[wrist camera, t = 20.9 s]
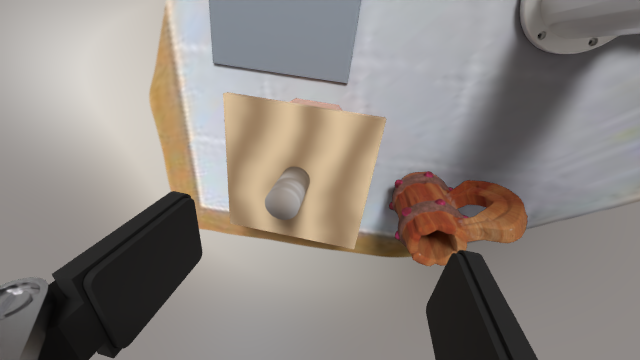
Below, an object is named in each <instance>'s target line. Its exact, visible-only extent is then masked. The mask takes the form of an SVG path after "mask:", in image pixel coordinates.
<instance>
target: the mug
mask: <svg viewBox="0 0 640 360" xmlns="http://www.w3.org/2000/svg"><path fill="white" fill-rule="evenodd" d="M465 205H479V206H483V207H486V209H485V210H484V211H481V212H480V213H479V214H477V215H476V216H474V217H470V218H469V217H468V216H465V215H462V214H461V213H460V212H459V211H458V210H457V209H458V208H461V207H463V206H465ZM389 208H390V209H392V210H395V212H396V213H397V214H398V217H399V223H398V231H397V232H396V233H395V238H396V239H398V240H401V242H402V243H403V244H404V245H405V246H406V247H407V249H408V251H409V253H411V255H412V258H413V260H415V261H416V262H418V263H420V264H423V265H426V266H431V265H433V264H438V265H446V264H447V262H448V260H449V258H450V256H451V254H452V253H457V252H458V251H459V250H465V251H466V248H467V242H471V241H477V240H487V241H494V242H500V243H511V242H514V241H516V240H518V239H520V238H521V237H522V235H523V233H524V232H525V229H526V225H527V217H528V216H527V215H526V212H525V208H524V203H523V202H522V200H521V199H520V198H519V197H518V196H517V195H516V194H514V193H513V192H512V191H510V190H509V189H507V188H505V187H502V186H500V185H498V184H495V183H490V182H485V181H470V180H467V181H464V182H463V183H461V184H460V185H459V186H457V187H456V188H454V189H453V188H451V187H448V186H447V185H446V184H445V182H444V181H442V180H441V179H440V178H439V177H437V176H436V175H434V174H432V172H429V171H428V172H415V173H411V174H408V175H406V176H404V178H403V179H402V180H396V182H395V189H394V192H393V195H392V202H391V203H390V204H389Z"/></svg>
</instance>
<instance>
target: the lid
mask: <svg viewBox="0 0 640 360" xmlns="http://www.w3.org/2000/svg"><path fill="white" fill-rule="evenodd" d="M223 98H224V117H225V136H226V155H227V174H228V192H229V211H230V224H235V225H240V226H245V227H250V228H254V229H259V230H264V231H269V232H274V233H279V234H283V235H288V236H293V237H298V238H303V239H307V240H312V241H317V242H322V243H327V244H332V245H336V246H341V247H346V248H351V249H354V247H355V243H356V239H357V235H358V231H359V227H360V223H361V219H362V215H363V211H364V207H365V203H366V199H367V195H368V191H369V187H370V183H371V179H372V175H373V171H374V167H375V163H376V159H377V155H378V151H379V147H380V143H381V139H382V135H383V131H384V127H385V123H386V118H385V117H378V116H372V115H366V114H360V113H353V112H347V111H341V110H335V109H328V108H322V107H316V106H310V105H303V104H297V103H291V102H285V101H278V100H272V99H266V98H260V97H253V96H247V95H241V94H235V93H228V92H227V93H223Z"/></svg>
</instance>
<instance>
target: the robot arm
mask: <svg viewBox="0 0 640 360" xmlns="http://www.w3.org/2000/svg"><path fill="white" fill-rule="evenodd" d="M520 20H521V25H522V28H523V31H524V33H525V35H526V37H527V38H528V40H529V41H530V42H531V43H532V44H533V45H534V46H536V47H537V48H539V49H541V50H543V51H545V52H549V53H553V54H576V53H581V52H585V51H589V50H592V49H594V48H597V47H599V46H602V45H604V44H606V43H607V42H609V41H611V40H613V39H615V38H616V37H617V36H619V35H628V34H640V0H521V4H520ZM538 34H539V37H538ZM537 37H538V38H537ZM201 256H202V247H201V240H200V234H199V227H198V221H197V215H196V209H195V203H194V200H193V199H191V196H190V195H188V194H185V193H180V192H175V191H173V192H170V193H168V194H167V195H166V196H164V197H163V198H161V199H160V200H158V201H157V202H155V203H154V204H153V205H151V206H150V207H148V208H147V209H145V210H144V211H142V212H141V213H139V214H138V215H137V216H135V217H134V218H132V219H131V220H129V221H128V222H126V223H125V224H124V225H122V226H121V227H119V228H118V229H116V230H115V231H114V232H112V233H111V234H110V235H108V236H106V237H105V238H103V239H102V240H101V241H99V242H98V243H96V244H95V245H93V246H92V247H90V248H89V249H88V250H86V251H85V252H83V253H82V254H80V255H79V256H77V257H76V258H75V259H73V260H72V261H70V262H69V263H67V264H66V265H64V266H63V267H62V268H60V269H59V270H57V271H56V272H54V273H53V274H52V276H53V277H54V279H55V281H54V282H52V283H51V284H50V285H48V283H47V281H46V280H44V279H42V278H34V277H30V278H23V279H18V280H15V281H11V282H8V283H5V284H3V285H1V286H0V360H89V359H90V358H91V357H92V356H93V355H94V354H95V352H96V351H97V353H98V354H101V355H104V356H107V357H111V358H115V356H116V355H117V354H118V353H119V352H120V350H121V349H122V348H126V347H127V346H129V345H130V344H131V343H132V342H133V340H134V339H135V338H136V337H137V335H138V334H139V333H140V332H141V331H142V329H143V328H144V327H145V326H146V325H147V323H148V322H149V321H150V320H151V318H152V317H153V316H154V315H155V314H156V312H157V311H158V310H159V309H160V308H161V307H162V305H163V304H164V303H165V302H166V300H167V299H168V298H169V297H170V296H171V294H172V293H173V292H174V291H175V290H176V288H177V287H178V286H179V285H180V284H181V282H182V281H183V280H184V279H185V278H186V276H187V275H188V274H189V273H190V272H191V270H192V269H193V268H194V267H195V266H196V264H197V263H198V262H199V261H200V259H201ZM426 314H427V319H428V325H429V329H430V334H431V339H432V344H433V349H434V353H435V359H436V360H538V359H537V357H536V355H535V353H534V351H533V350H532V348H531V346H530V344H529V342H528V340H527V339H526V337H525V335H524V333H523V331H522V329H521V327H520V326H519V324H518V322H517V320H516V318H515V316H514V314H513V313H512V310H511V309H510V307H509V306H508V304H507V302H506V300H505V298H504V296H503V294H502V293H501V291H500V289H499V287H498V285H497V283H496V281H495V280H494V278H493V276H492V274H491V273H490V270H489V268H488V266H487V265H486V263H485V261H484V259H483V257H482V256H481V255H480V254H479V253H474V252H469V251H465V250H459V251H458V252H457V253H452V254H451V256H450V258H449V260H448V262H447V264H446V266H445V269H444V270H443V272H442V275H441V276H440V279H439V281H438V283H437V285H436V287H435V289H434V291H433V293H432V295H431V297H430V299H429V301H428V303H427V307H426Z"/></svg>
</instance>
